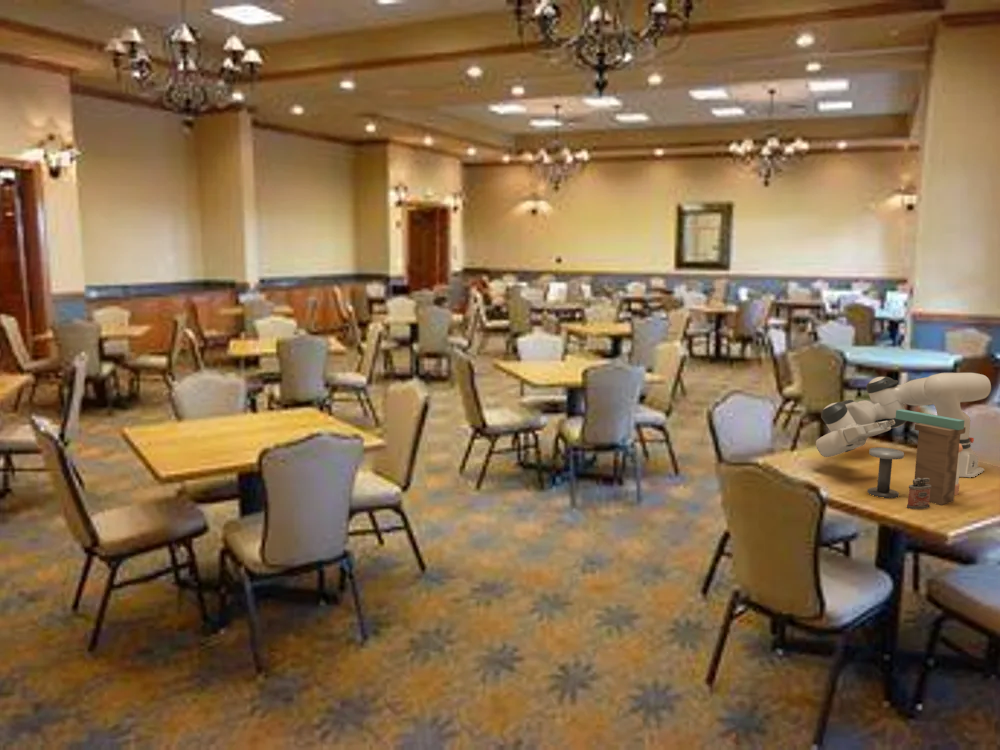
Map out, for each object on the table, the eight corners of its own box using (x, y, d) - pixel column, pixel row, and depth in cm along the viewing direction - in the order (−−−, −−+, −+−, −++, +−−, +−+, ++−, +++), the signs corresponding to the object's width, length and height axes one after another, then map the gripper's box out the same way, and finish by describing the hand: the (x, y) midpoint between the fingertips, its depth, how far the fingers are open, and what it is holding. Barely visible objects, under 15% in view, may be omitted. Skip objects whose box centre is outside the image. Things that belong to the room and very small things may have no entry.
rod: (900, 417, 299) (901, 409, 299) (963, 429, 282) (964, 420, 281) (895, 418, 297) (896, 410, 297) (958, 430, 280) (959, 421, 279)
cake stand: (877, 488, 303) (880, 446, 301) (906, 495, 294) (910, 452, 292) (859, 492, 297) (862, 449, 295) (888, 500, 288) (892, 456, 286)
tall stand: (923, 493, 298) (930, 421, 294) (958, 501, 288) (965, 427, 284) (908, 497, 292) (915, 424, 288) (942, 506, 283) (950, 430, 279)
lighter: (911, 509, 279) (914, 480, 277) (904, 506, 282) (907, 477, 280) (931, 507, 281) (934, 478, 279) (924, 504, 284) (927, 476, 282)
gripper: (873, 440, 317) (905, 428, 307) (841, 446, 306) (873, 434, 295) (867, 424, 319) (898, 412, 308) (834, 430, 308) (866, 417, 297)
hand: (886, 423), depth 302 cm, fingers open, 8 cm apart
